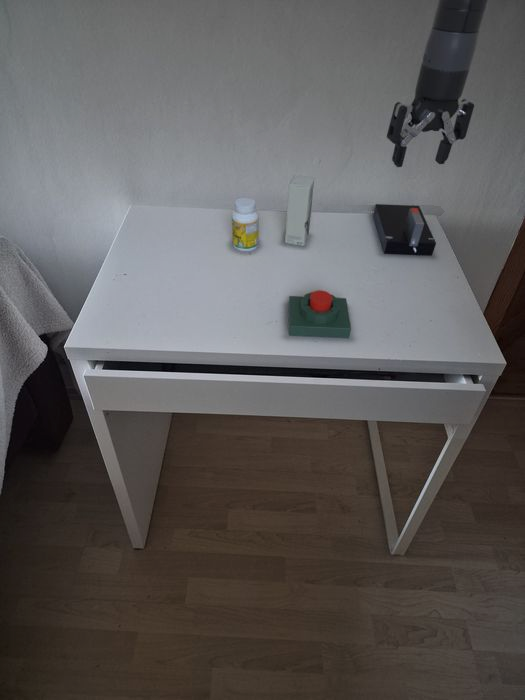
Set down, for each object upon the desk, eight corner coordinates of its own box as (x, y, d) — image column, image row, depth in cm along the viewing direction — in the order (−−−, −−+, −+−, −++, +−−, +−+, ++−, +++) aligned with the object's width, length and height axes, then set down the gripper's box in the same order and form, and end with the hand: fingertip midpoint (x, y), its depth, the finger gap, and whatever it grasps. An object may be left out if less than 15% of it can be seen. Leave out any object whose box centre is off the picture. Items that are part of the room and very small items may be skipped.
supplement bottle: (262, 248, 93) (264, 205, 86) (240, 254, 91) (239, 211, 84) (250, 236, 96) (250, 193, 89) (228, 242, 94) (226, 199, 87)
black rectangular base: (436, 266, 90) (441, 252, 87) (386, 264, 90) (389, 250, 87) (416, 217, 103) (419, 204, 101) (372, 215, 104) (375, 203, 101)
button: (330, 298, 76) (331, 290, 74) (331, 312, 73) (333, 304, 72) (308, 298, 76) (309, 289, 74) (309, 311, 73) (310, 303, 72)
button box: (344, 307, 80) (347, 289, 77) (348, 338, 74) (353, 320, 71) (288, 305, 80) (290, 287, 77) (288, 336, 74) (290, 317, 71)
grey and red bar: (417, 246, 89) (424, 222, 85) (409, 246, 89) (416, 222, 85) (411, 230, 93) (418, 207, 90) (403, 230, 93) (410, 207, 90)
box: (304, 247, 93) (310, 188, 84) (283, 243, 94) (288, 185, 85) (309, 234, 97) (315, 176, 88) (289, 231, 98) (293, 173, 88)
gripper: (416, 70, 67) (391, 175, 79) (499, 67, 70) (463, 169, 81) (395, 58, 72) (375, 158, 84) (473, 56, 75) (443, 153, 86)
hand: (418, 164), depth 83 cm, fingers open, 8 cm apart
